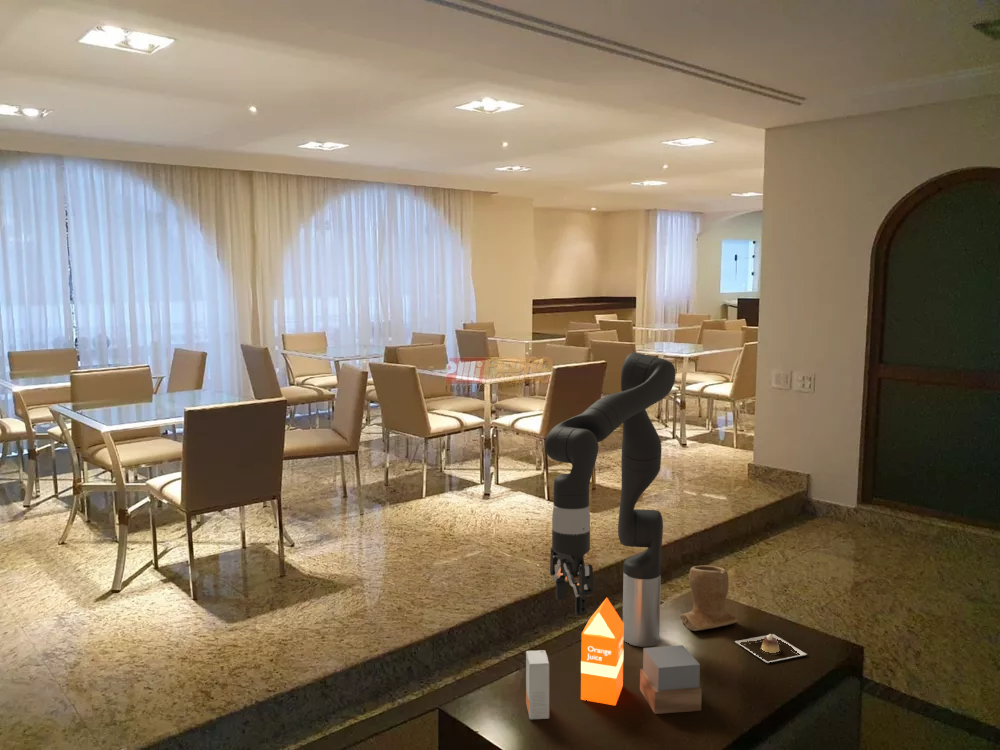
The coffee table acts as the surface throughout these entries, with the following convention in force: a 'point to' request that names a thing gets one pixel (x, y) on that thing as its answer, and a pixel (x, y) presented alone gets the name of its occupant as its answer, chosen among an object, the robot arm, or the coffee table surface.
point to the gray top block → (671, 667)
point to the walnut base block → (670, 697)
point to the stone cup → (708, 599)
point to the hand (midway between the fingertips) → (570, 606)
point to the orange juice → (602, 656)
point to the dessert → (770, 646)
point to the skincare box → (537, 684)
